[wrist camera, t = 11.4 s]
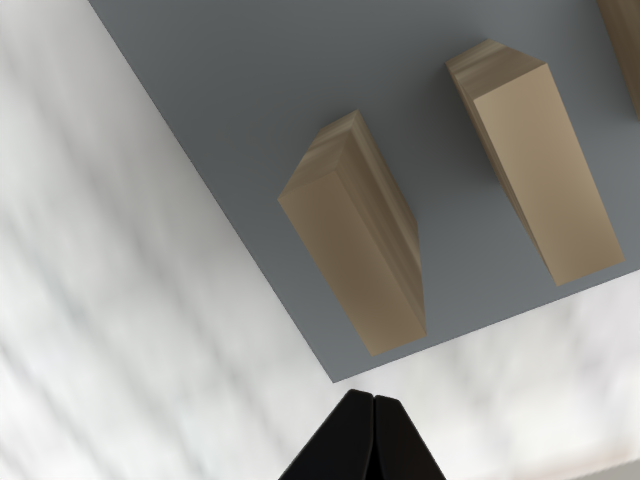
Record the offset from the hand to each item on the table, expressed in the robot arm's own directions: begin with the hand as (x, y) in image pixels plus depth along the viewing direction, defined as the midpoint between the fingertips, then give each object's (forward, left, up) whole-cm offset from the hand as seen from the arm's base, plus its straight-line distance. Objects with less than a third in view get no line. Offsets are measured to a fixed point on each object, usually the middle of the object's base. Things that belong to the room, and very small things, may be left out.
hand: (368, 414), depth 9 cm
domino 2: (0, +5, -13) cm, 14 cm away
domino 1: (0, 0, -13) cm, 13 cm away
